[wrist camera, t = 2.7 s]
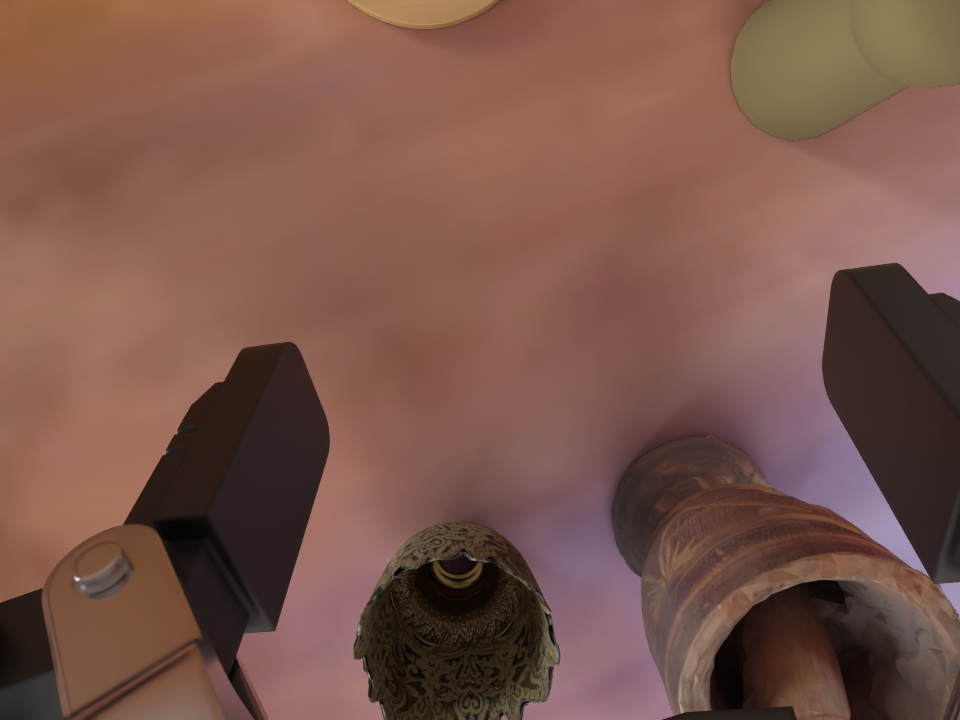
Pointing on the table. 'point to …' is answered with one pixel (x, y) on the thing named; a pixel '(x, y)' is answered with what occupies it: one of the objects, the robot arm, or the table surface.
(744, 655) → the mortar and pestle
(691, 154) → the table surface
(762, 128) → the olive round-headed cylinder
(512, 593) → the ornate metal bell
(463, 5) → the coaster
